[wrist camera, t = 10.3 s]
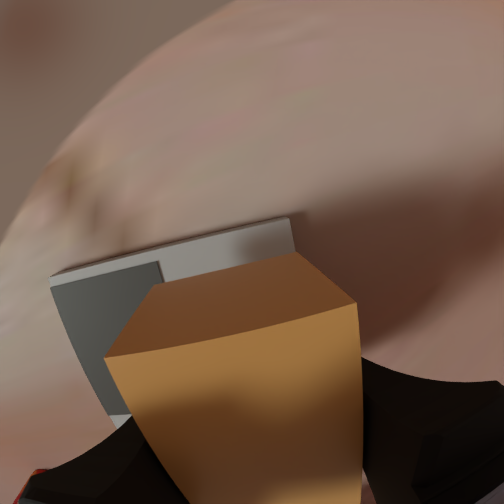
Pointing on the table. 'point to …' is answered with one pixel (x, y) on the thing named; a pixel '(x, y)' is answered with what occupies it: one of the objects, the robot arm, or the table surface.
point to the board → (140, 283)
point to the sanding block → (248, 384)
